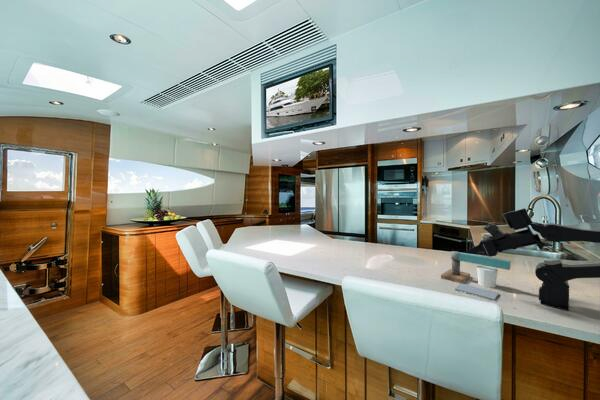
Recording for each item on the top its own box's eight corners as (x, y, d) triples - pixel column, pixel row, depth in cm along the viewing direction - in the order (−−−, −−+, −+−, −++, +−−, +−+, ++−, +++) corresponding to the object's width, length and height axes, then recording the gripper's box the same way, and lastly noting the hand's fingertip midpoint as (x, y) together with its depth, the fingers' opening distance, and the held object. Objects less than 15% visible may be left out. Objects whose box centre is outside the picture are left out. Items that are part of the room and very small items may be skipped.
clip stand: (469, 276, 105) (470, 259, 105) (462, 283, 97) (462, 264, 97) (449, 272, 111) (450, 255, 111) (441, 278, 103) (441, 260, 103)
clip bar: (450, 259, 104) (450, 252, 104) (452, 257, 106) (452, 250, 106) (509, 270, 89) (509, 262, 89) (510, 268, 92) (510, 260, 92)
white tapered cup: (501, 289, 92) (502, 271, 92) (481, 287, 93) (482, 270, 93) (491, 282, 99) (491, 266, 98) (472, 281, 100) (473, 265, 100)
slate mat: (498, 294, 87) (498, 292, 87) (494, 300, 82) (494, 299, 82) (460, 284, 96) (460, 283, 96) (454, 290, 91) (454, 288, 91)
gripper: (508, 218, 94) (465, 230, 105) (501, 220, 82) (453, 233, 92) (522, 245, 91) (477, 254, 101) (518, 251, 78) (466, 261, 89)
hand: (468, 250), depth 96 cm, fingers open, 9 cm apart
